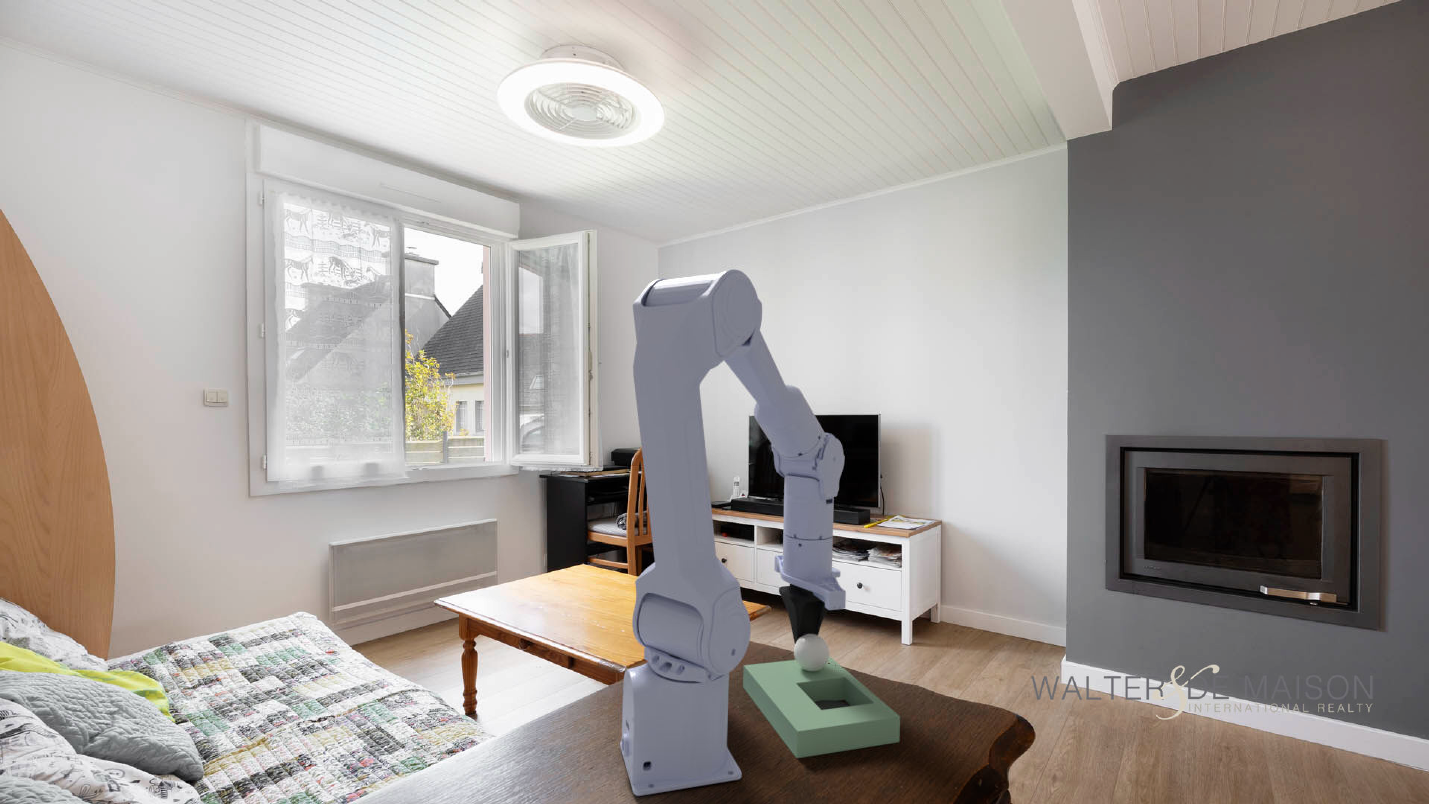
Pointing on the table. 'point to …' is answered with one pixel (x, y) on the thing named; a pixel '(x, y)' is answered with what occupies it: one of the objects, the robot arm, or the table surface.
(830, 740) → the green
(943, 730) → the table surface
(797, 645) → the ball
